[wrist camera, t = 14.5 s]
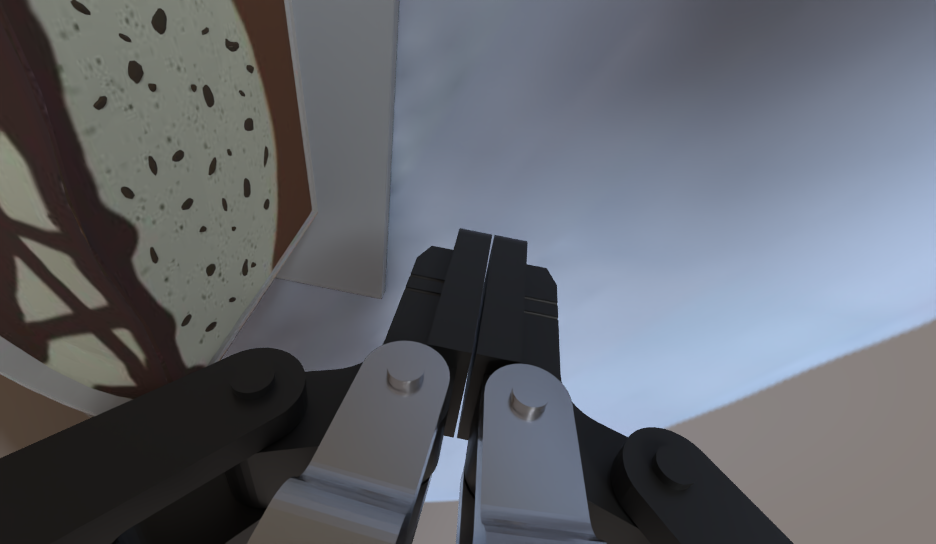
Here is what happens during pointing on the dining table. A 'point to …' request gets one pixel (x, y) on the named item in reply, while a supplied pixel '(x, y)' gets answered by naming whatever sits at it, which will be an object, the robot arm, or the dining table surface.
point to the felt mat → (347, 141)
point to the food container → (143, 186)
